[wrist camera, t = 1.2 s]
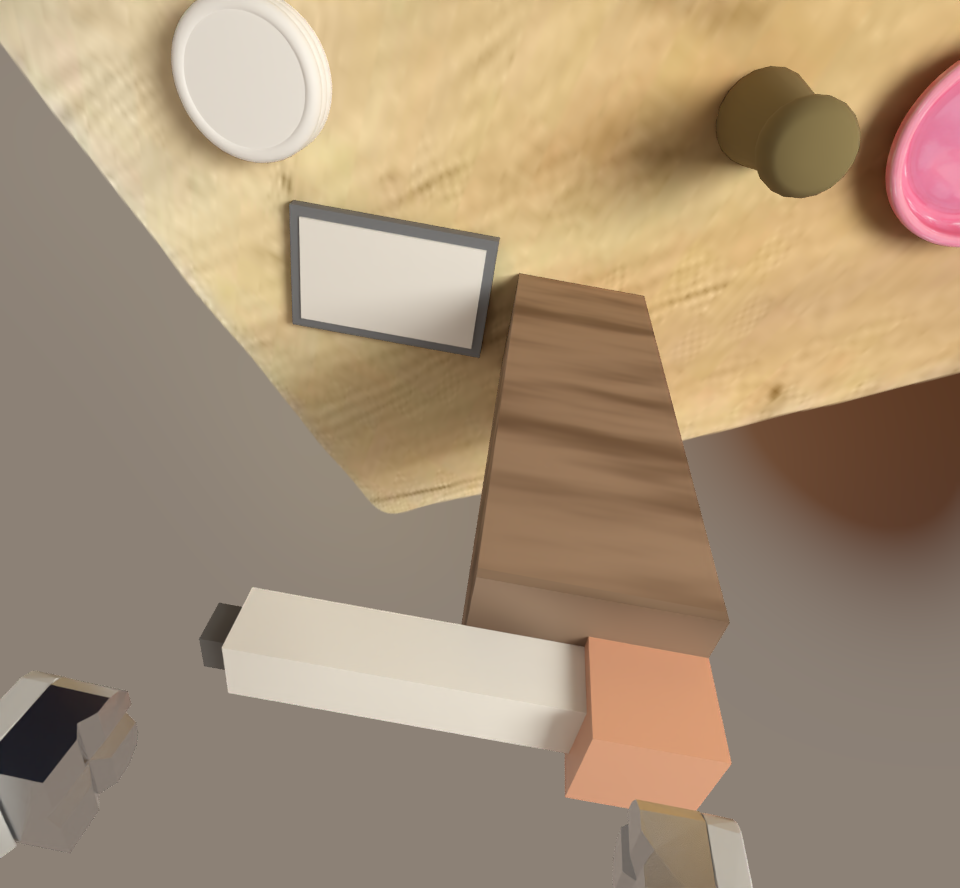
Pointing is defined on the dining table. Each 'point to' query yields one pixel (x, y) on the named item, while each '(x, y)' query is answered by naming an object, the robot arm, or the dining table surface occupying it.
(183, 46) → the coaster
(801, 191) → the olive game pawn
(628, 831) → the robot arm
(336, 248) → the writing board
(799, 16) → the dining table surface
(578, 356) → the walnut stand
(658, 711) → the marker
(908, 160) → the saucer
